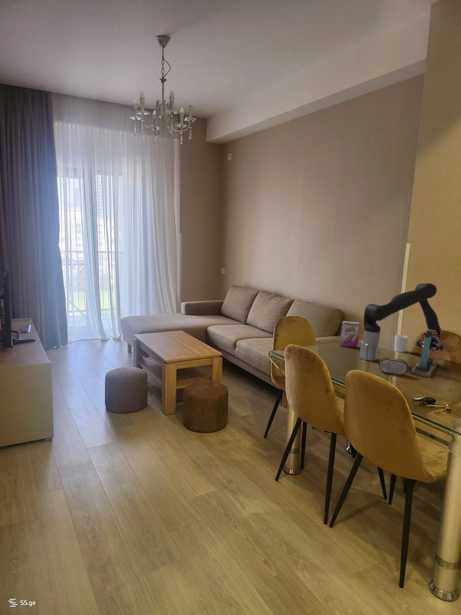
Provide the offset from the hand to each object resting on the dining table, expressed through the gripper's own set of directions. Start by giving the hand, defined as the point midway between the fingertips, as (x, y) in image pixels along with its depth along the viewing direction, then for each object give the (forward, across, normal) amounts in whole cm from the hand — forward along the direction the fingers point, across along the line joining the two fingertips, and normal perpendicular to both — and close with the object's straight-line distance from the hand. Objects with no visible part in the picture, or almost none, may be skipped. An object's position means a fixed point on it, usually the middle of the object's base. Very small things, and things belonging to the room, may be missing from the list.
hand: (428, 347), depth 246 cm
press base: (+3, 0, +12) cm, 12 cm away
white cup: (-29, -20, +12) cm, 37 cm away
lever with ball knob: (+7, 0, +10) cm, 12 cm away
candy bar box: (-15, -50, +12) cm, 54 cm away
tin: (+26, -13, +12) cm, 32 cm away
